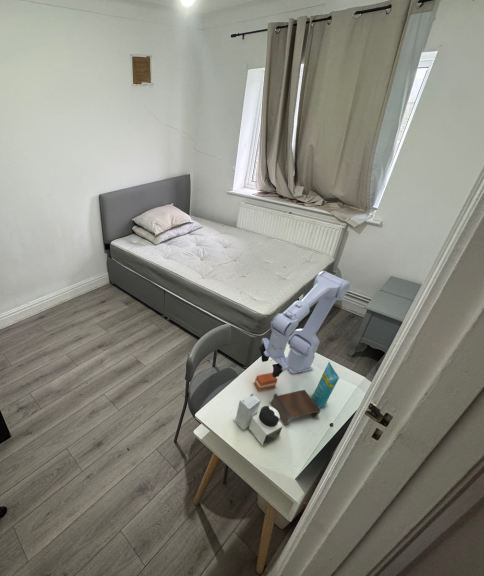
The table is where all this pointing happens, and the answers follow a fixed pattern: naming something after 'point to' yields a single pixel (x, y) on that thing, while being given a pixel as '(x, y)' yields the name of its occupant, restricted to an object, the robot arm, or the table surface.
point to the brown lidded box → (294, 405)
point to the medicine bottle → (266, 425)
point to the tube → (325, 386)
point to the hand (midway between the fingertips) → (269, 368)
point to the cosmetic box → (247, 410)
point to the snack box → (265, 381)
